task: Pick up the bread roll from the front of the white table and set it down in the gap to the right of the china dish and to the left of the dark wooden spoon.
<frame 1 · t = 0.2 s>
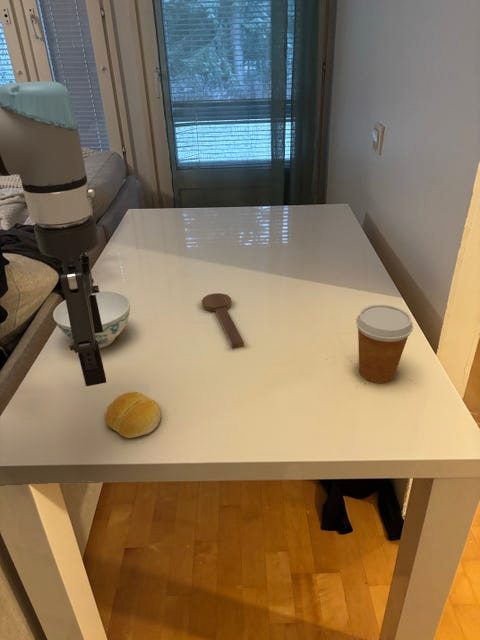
hand: (95, 355, 70), 13 cm above the table, tool pointing down, fingers open, 13 cm apart
wooden spoon: (223, 318, 104), on the table
chinaware: (99, 340, 98), on the table
disposable coffee cup: (376, 373, 86), on the table
bread roll: (134, 421, 77), on the table
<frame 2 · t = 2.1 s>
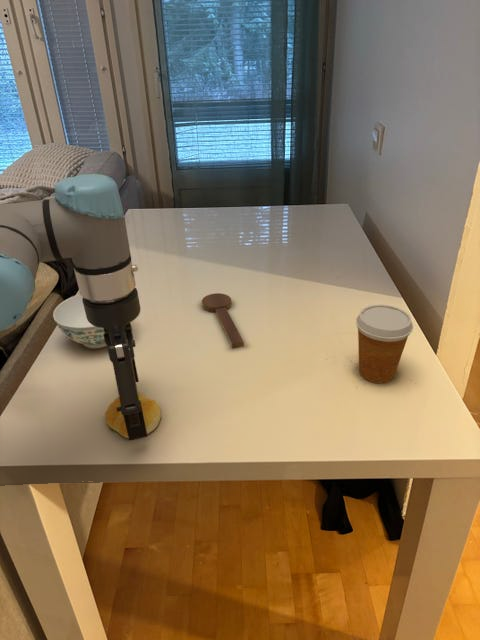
hand: (134, 407, 75), 3 cm above the table, tool pointing down, fingers open, 13 cm apart
nothing on the table moved.
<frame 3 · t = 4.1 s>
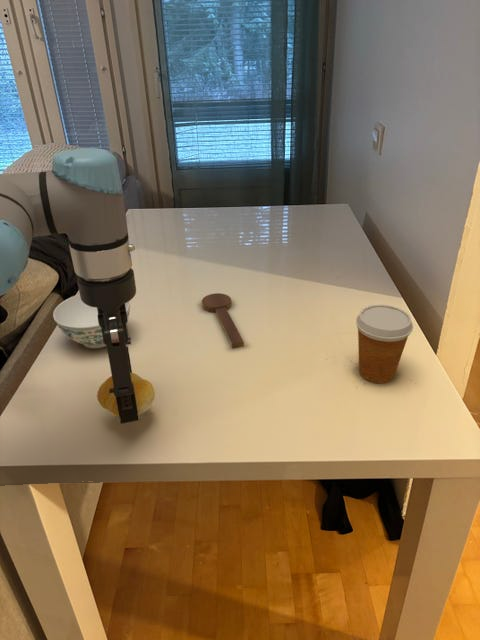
hand: (127, 399, 74), 5 cm above the table, tool pointing down, fingers closed on bread roll, 9 cm apart
bread roll: (127, 401, 74), point 4 cm above the table, touching gripper
everything else where it was.
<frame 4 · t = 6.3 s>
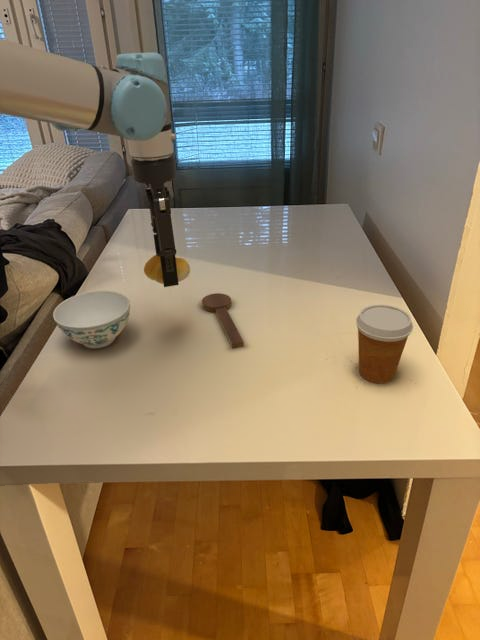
hand: (167, 274, 92), 14 cm above the table, tool pointing down, fingers closed on bread roll, 9 cm apart
bread roll: (167, 276, 92), point 14 cm above the table, touching gripper
everything else where it was.
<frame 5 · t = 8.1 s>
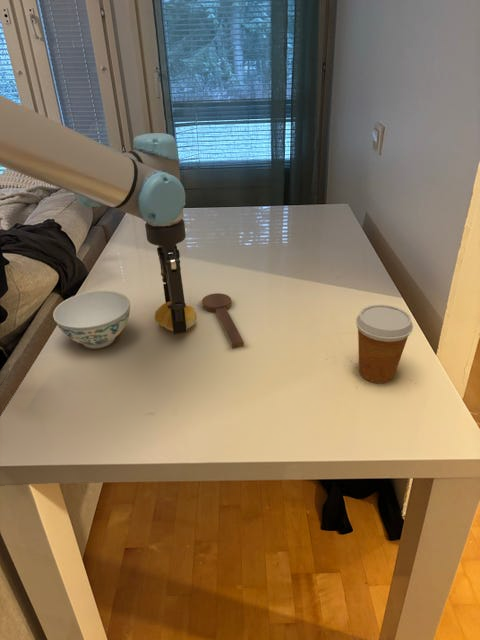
hand: (176, 320, 101), 1 cm above the table, tool pointing down, fingers closed on bread roll, 9 cm apart
bread roll: (176, 322, 101), point 1 cm above the table, touching gripper
everything else where it was.
when the fingers open (0 cm above the table, at t = 9.0 s): bread roll stays where it is, on the table.
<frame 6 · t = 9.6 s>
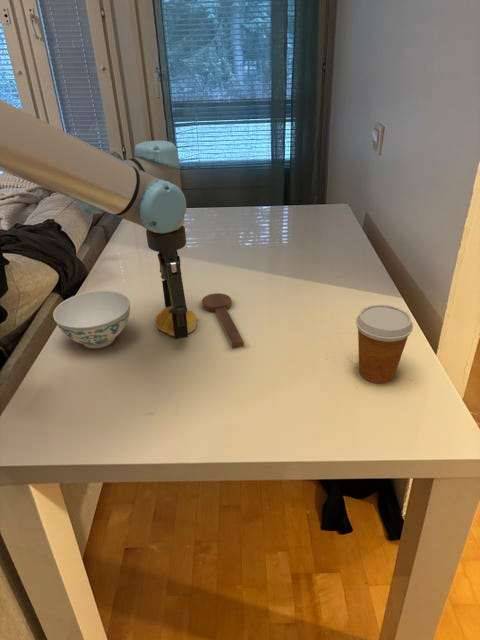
hand: (176, 320, 101), 1 cm above the table, tool pointing down, fingers open, 13 cm apart
bread roll: (177, 327, 102), on the table
everything else where it was.
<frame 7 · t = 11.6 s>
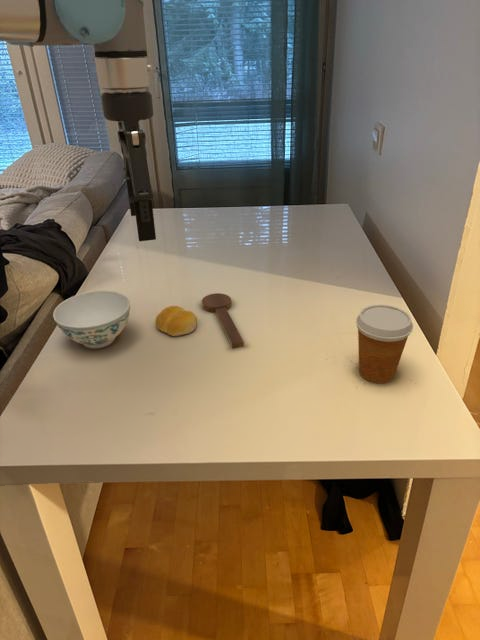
hand: (142, 226, 81), 26 cm above the table, tool pointing down, fingers open, 13 cm apart
nothing on the table moved.
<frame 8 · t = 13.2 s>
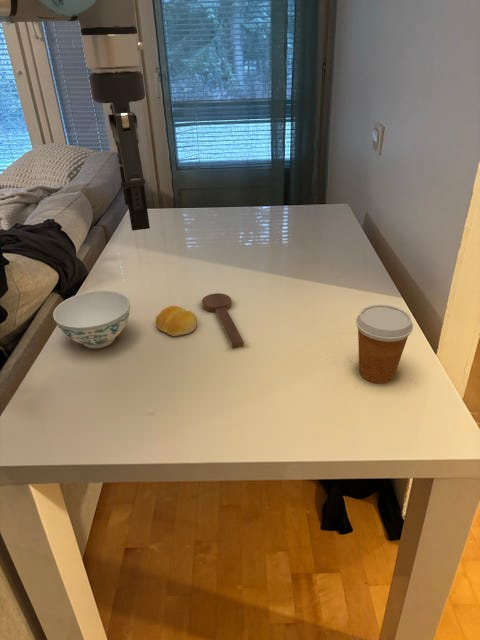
hand: (136, 215, 77), 29 cm above the table, tool pointing down, fingers open, 13 cm apart
nothing on the table moved.
at the end: bread roll inside the target area (0.0 cm from its centre), on the table; the gripper is holding nothing; chinaware moved 0.2 cm from its start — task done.
